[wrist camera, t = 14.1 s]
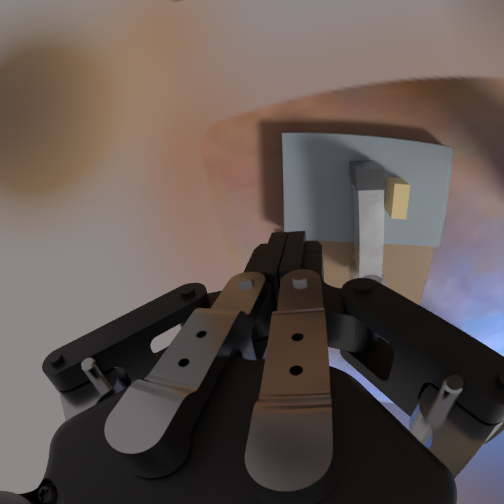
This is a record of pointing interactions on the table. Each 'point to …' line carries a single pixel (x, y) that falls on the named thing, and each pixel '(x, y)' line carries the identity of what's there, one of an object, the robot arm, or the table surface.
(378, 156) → the frame
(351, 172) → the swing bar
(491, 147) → the table surface
